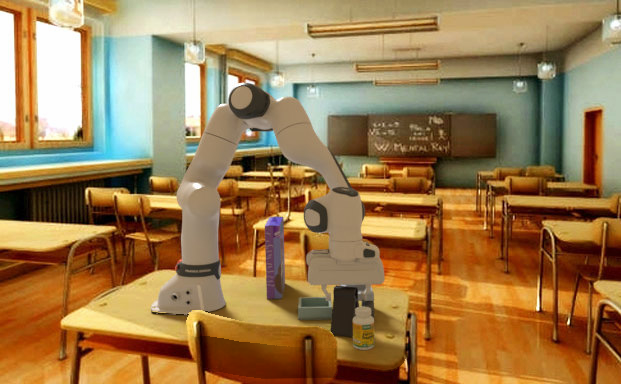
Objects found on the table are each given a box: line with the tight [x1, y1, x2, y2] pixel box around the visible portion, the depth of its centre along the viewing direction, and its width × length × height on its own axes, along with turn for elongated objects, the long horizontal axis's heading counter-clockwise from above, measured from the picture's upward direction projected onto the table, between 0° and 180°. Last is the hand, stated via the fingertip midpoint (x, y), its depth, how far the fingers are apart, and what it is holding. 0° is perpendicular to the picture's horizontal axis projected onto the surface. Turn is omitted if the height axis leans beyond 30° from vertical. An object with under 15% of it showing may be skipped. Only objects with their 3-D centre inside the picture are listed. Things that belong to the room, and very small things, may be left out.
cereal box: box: [264, 216, 286, 300], centre depth 180 cm, size 17×5×24 cm, turn 179°
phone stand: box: [329, 285, 360, 338], centre depth 144 cm, size 9×6×12 cm, turn 157°
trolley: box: [339, 241, 375, 319], centre depth 156 cm, size 9×14×20 cm, turn 0°
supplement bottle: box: [352, 306, 375, 351], centre depth 134 cm, size 5×5×10 cm
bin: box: [297, 296, 333, 321], centre depth 158 cm, size 10×10×4 cm
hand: (346, 300), depth 144 cm, fingers open, 8 cm apart
